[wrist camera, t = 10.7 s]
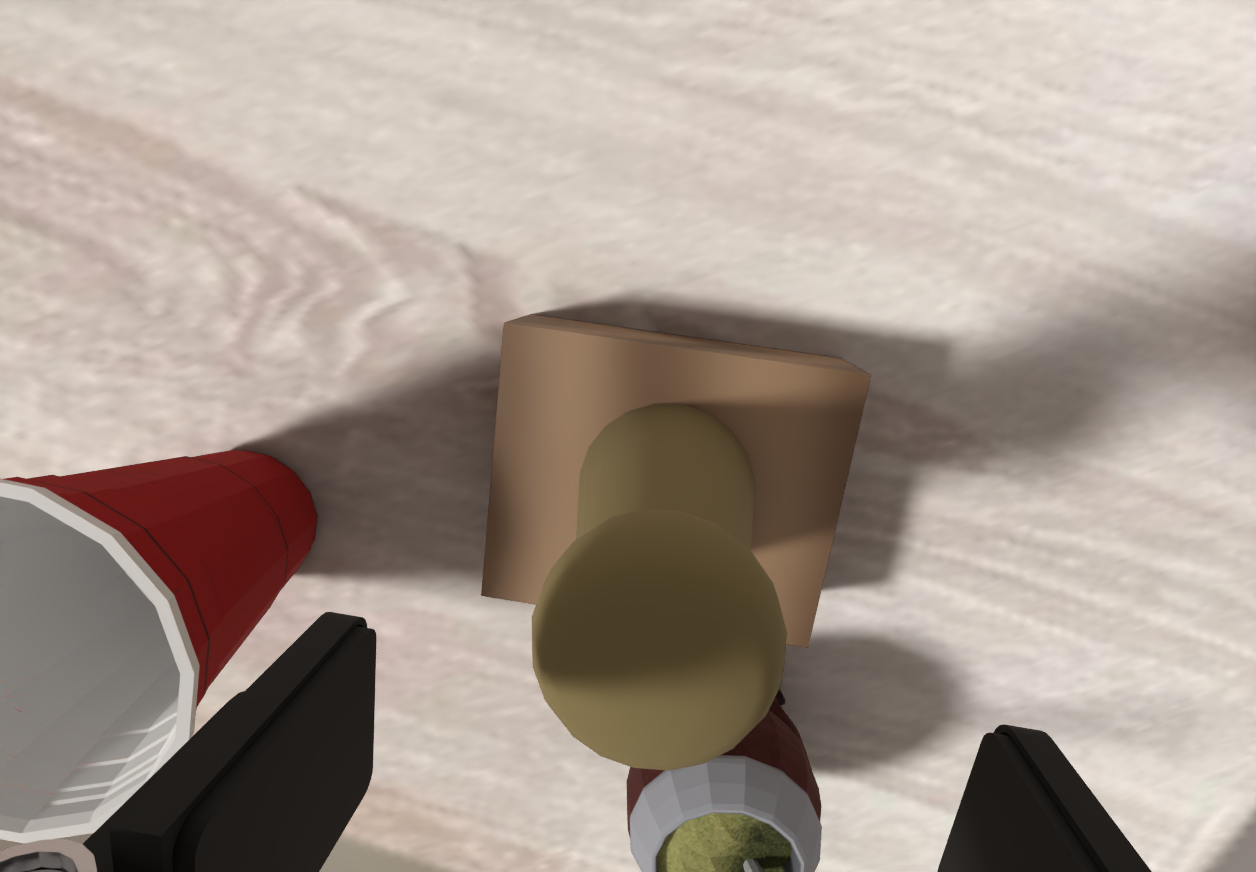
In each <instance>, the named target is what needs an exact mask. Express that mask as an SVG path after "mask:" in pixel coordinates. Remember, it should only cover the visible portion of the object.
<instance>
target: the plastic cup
mask: <svg viewBox="0 0 1256 872" xmlns="http://www.w3.org/2000/svg"><path fill="white" fill-rule="evenodd" d="M316 523H317V514H316V511H315V508H314V505H313V501H312V498H311V495H310V492H309V491H308V489H307V488H306V487H305V485H304V484H303V483H302V482H301V480H300V479H299V478H298V476H297V475H296V474H295V472H294V471H293V470H291V469H290V468H288V467H286V466H285V465H283V464H282V463H280V462H279V461H277V460H276V459H274V458H273V457H271V456H268V455H263V454H259V453H255V452H251V451H246V450H245V451H237V450H231V451H225V452H219V453H212V454H207V455H201V456H196V457H187V456H184V457H178V458H172V459H166V460H160V461H154V462H147V463H141V464H135V465H129V466H123V467H116V468H110V469H104V470H98V471H92V472H86V473H79V474H73V475H67V476H61V477H60V476H55V475H48V476H42V477H35V478H28V479H25V478H20V477H13V478H6V479H0V839H4V840H9V841H15V842H20V843H30V842H35V841H39V840H49V839H55V838H62V837H69V836H75V835H81V834H88V833H94V832H95V831H96V830H97V829H98V828H99V827H100V826H101V825H102V824H104V823H105V822H106V821H107V820H108V819H109V818H110V817H111V816H112V815H113V814H114V813H115V812H116V811H117V810H118V809H119V808H120V807H121V806H122V805H123V804H124V803H125V802H126V801H127V800H128V799H129V798H130V797H131V796H132V795H133V794H134V793H135V792H136V791H137V790H138V789H139V788H140V787H141V786H142V785H143V784H144V783H145V782H146V781H148V780H149V779H150V778H151V777H152V776H153V775H154V774H155V773H156V772H157V771H158V770H159V769H160V768H161V767H162V766H163V765H164V764H165V763H166V762H167V761H168V760H169V759H170V758H171V757H172V756H173V755H174V754H175V753H176V752H177V751H178V750H179V749H180V748H181V747H182V746H183V745H184V744H185V743H186V742H187V741H188V740H189V739H190V738H191V737H192V734H193V732H194V727H195V715H196V708H197V706H198V705H199V703H200V701H201V700H202V698H203V696H204V695H205V693H206V691H207V689H208V687H209V686H210V685H211V683H212V682H213V681H214V679H215V678H216V677H217V676H218V674H219V673H220V672H221V670H222V669H223V668H224V666H225V665H226V664H227V663H228V661H229V660H230V659H231V657H232V656H233V655H234V653H235V652H236V651H237V650H238V648H239V647H240V646H241V644H242V643H243V642H244V640H245V639H246V638H247V637H248V635H249V634H250V633H251V631H252V630H253V629H254V628H255V626H256V625H257V624H258V622H259V621H260V620H261V618H262V617H263V616H264V615H265V613H266V612H267V611H268V609H269V608H270V607H271V605H272V603H273V602H274V600H275V598H276V597H277V595H278V593H279V592H280V590H281V589H282V588H283V587H284V585H285V584H286V583H287V582H288V581H289V579H290V578H291V577H292V576H293V574H294V573H295V572H296V571H297V569H298V568H299V567H300V565H301V563H302V562H303V560H304V558H305V557H306V555H307V553H308V552H309V550H310V549H311V545H312V543H313V542H314V540H315V533H316Z"/></svg>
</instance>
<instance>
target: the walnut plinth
mask: <svg viewBox="0 0 1256 872" xmlns="http://www.w3.org/2000/svg"><path fill="white" fill-rule="evenodd" d="M870 377H871V375H870V374H868V373H866V372H865V371H863V370H861V369H859V368H858V367H856V366H854V365H852V364H850V363H849V362H847V361H845V360H843V359H842V358H836V357H829V356H822V355H815V354H808V353H800V352H793V351H786V350H779V349H772V348H765V347H758V346H751V345H744V344H737V343H730V342H723V341H716V340H709V339H702V338H694V337H687V336H680V335H673V334H666V333H659V332H652V331H645V330H638V329H631V328H624V327H617V326H610V325H603V324H596V323H588V322H581V321H574V320H567V319H560V318H553V317H546V316H539V315H532V314H530V315H527V316H524V317H520V318H517V319H514V320H511V321H508V322H505V323H504V327H503V339H502V351H501V363H500V375H499V388H498V400H497V412H496V424H495V436H494V448H493V460H492V472H491V484H490V496H489V508H488V521H487V533H486V545H485V557H484V569H483V581H482V593H481V596H486V597H492V598H498V599H505V600H511V601H517V602H523V603H530V604H537V601H538V598H539V595H540V593H541V590H542V587H543V584H544V582H545V580H546V577H547V575H548V573H549V571H550V569H551V568H552V567H553V566H554V564H555V563H556V562H557V561H558V559H559V558H560V557H561V556H562V555H563V553H564V552H565V551H566V550H567V548H568V547H569V546H570V545H571V544H572V542H574V541H575V540H576V529H577V513H578V496H579V480H580V470H581V468H582V465H583V462H584V459H585V456H586V453H587V451H588V448H589V446H590V445H591V444H592V442H593V441H594V440H595V439H596V437H597V436H598V435H599V433H600V432H601V431H602V430H603V428H604V427H605V426H606V425H608V424H609V423H611V422H612V421H614V420H615V419H617V418H618V417H620V416H621V415H623V414H624V413H626V412H627V411H630V410H633V409H637V408H641V407H644V406H648V405H652V404H655V403H657V404H682V405H687V406H689V407H692V408H695V409H698V410H700V411H703V412H706V413H709V414H711V415H712V416H714V417H715V418H716V419H718V420H719V421H720V422H721V423H723V424H724V425H725V426H726V427H728V428H729V429H730V430H732V431H733V432H734V434H735V435H736V437H737V438H738V440H739V441H740V443H741V444H742V446H743V447H744V449H745V450H746V452H747V453H748V456H749V459H750V463H751V467H752V471H753V475H754V478H755V490H754V508H753V526H752V543H751V552H752V553H753V554H754V556H755V557H756V559H757V560H758V562H759V563H760V565H761V566H762V567H763V569H764V570H765V572H766V573H767V575H768V576H769V578H770V579H771V581H772V582H773V584H774V587H775V590H776V593H777V596H778V600H779V604H780V607H781V611H782V615H783V619H784V622H785V626H786V630H787V640H786V644H788V645H794V646H801V647H807V648H808V645H809V641H810V637H811V632H812V628H813V624H814V619H815V615H816V611H817V606H818V602H819V598H820V593H821V589H822V585H823V581H824V576H825V572H826V568H827V563H828V559H829V555H830V550H831V546H832V542H833V537H834V533H835V529H836V524H837V520H838V516H839V511H840V507H841V503H842V498H843V494H844V490H845V485H846V481H847V477H848V472H849V468H850V464H851V459H852V455H853V451H854V446H855V442H856V438H857V434H858V429H859V425H860V421H861V416H862V412H863V408H864V403H865V399H866V395H867V390H868V386H869V382H870Z"/></svg>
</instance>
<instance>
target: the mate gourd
mask: <svg viewBox="0 0 1256 872" xmlns="http://www.w3.org/2000/svg"><path fill="white" fill-rule="evenodd" d="M783 704H785V699H784V697H783V695H782V692H781V691H780V689H779V690H778V692H777V694H776V696H775V698H774V700H773V702H772V704H771V706H770V708H769V710H768V713H767V715H766V716H765V717H764V718H763V719H762V720H761V721H760V722H759V723H758V724H757V725H756V726H755V727H754V728H753V729H752V730H751V731H750V732H749V733H748V734H747V735H746V736H745V737H744V738H743V739H742V740H741V741H740V742H739V743H738V744H737V745H736V746H735V747H734V748H733V749H731V750H729V751H727V752H725V753H724V754H722V755H720V756H718V757H716V758H714V759H712V760H710V761H708V762H706V763H704V764H700V765H695V766H690V767H685V768H680V769H674V770H669V771H668V770H655V769H643V768H633V767H630V770H629V775H628V779H627V815H628V831H629V836H630V841H631V852H632V854H633V856H634V858H635V860H636V862H637V864H638V866H639V868H640V869H641V871H642V872H815V870H816V867H817V865H818V863H819V860H820V847H821V830H822V826H821V823H820V816H821V801H820V794H819V788H818V786H817V783H816V780H815V778H814V775H813V772H812V769H811V766H810V763H809V760H808V756H807V753H806V750H805V748H804V745H803V743H802V740H801V737H800V735H799V732H798V730H797V728H796V727H795V725H794V724H793V722H792V721H791V719H790V718H789V717H788V715H787V714H786V713H785V712H784V710H783V709H782V708H781V705H783Z"/></svg>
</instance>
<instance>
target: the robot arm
mask: <svg viewBox="0 0 1256 872" xmlns="http://www.w3.org/2000/svg"><path fill="white" fill-rule="evenodd" d="M375 669H376V632H375V630H373V629H370V628H367V623H366V620H365V619H364V618H363V617H357V616H351V615H345V614H339V613H333V612H326V613H324V614H323V615H321V616H320V617H319V618H318V619H317V620H316V621H315V622H314V623H313V624H312V625H311V626H310V627H309V628H308V629H307V630H306V631H305V632H304V633H303V634H302V635H301V636H300V637H299V638H298V639H297V640H296V641H295V642H294V643H293V644H292V645H291V646H290V647H289V648H288V649H287V650H286V651H285V652H284V653H283V654H282V655H281V656H280V657H279V658H278V659H277V660H276V661H275V662H274V663H273V664H272V665H271V666H270V667H269V668H268V669H267V670H266V671H265V672H264V673H263V674H262V675H261V676H260V677H259V678H258V679H257V680H256V681H255V682H254V683H253V684H252V685H251V686H250V687H249V688H248V689H247V690H246V691H244V692H240V693H238V694H237V695H236V696H234V697H233V698H232V699H231V700H229V701H228V702H227V703H226V704H225V705H224V706H223V707H222V708H221V709H220V710H219V711H218V712H217V713H216V714H215V715H214V716H213V717H212V718H211V719H210V720H209V721H208V722H207V723H206V724H205V725H204V726H203V727H202V728H201V729H200V730H199V731H198V732H197V733H196V734H195V735H194V736H193V737H191V738H190V739H189V740H188V741H187V742H186V743H185V744H184V745H183V746H182V747H181V748H180V749H179V750H178V751H177V752H176V753H175V754H174V755H173V756H172V757H171V758H170V759H169V760H168V761H167V762H166V763H165V764H164V765H163V766H162V767H161V768H160V769H159V770H158V771H157V772H156V773H155V774H154V775H153V776H152V777H151V778H150V779H149V780H148V781H146V782H145V783H144V784H143V785H142V786H141V787H140V788H139V789H138V790H137V791H136V792H135V793H134V794H133V795H132V796H131V797H130V798H129V799H128V800H127V801H126V802H125V803H124V804H123V805H122V806H121V807H120V808H119V809H118V810H117V811H116V812H115V813H114V814H113V815H112V816H111V817H110V818H109V819H108V820H107V821H106V822H105V823H104V824H102V825H101V826H100V827H99V828H98V829H97V830H96V831H95V832H94V833H93V834H92V835H91V836H90V837H89V838H88V839H87V840H86V841H85V842H84V843H83V844H79V843H76V842H72V841H69V840H65V839H61V840H60V839H59V840H39V841H35V842H30V843H26V844H22V845H17V846H14V847H11V848H9V849H6V850H3V851H1V852H0V872H319V870H320V869H321V868H322V866H323V864H324V863H325V861H326V859H327V857H328V856H329V854H330V853H331V851H332V849H333V847H334V846H335V844H336V842H337V841H338V839H339V837H340V836H341V834H342V832H343V831H344V829H345V827H346V826H347V824H348V822H349V821H350V819H351V817H352V816H353V814H354V812H355V811H356V809H357V807H358V805H359V804H360V802H361V800H362V799H363V797H364V795H365V793H366V791H367V789H368V786H369V783H370V780H371V776H372V770H373V743H374V706H375ZM938 872H1151V870H1150V869H1149V868H1148V866H1147V865H1146V864H1145V862H1144V861H1143V860H1142V858H1141V857H1140V856H1139V854H1138V853H1137V852H1136V850H1135V849H1134V848H1133V846H1132V845H1131V844H1130V842H1129V841H1128V840H1127V838H1126V837H1125V836H1124V834H1123V833H1122V832H1121V830H1120V829H1119V828H1118V826H1117V825H1116V824H1115V822H1114V821H1113V820H1112V818H1111V817H1110V816H1109V814H1108V813H1107V812H1106V810H1105V809H1104V808H1103V806H1102V805H1101V804H1100V802H1099V801H1098V800H1097V798H1096V797H1095V796H1094V794H1093V793H1092V792H1091V790H1090V789H1089V788H1088V786H1087V785H1086V784H1085V782H1084V781H1083V780H1082V778H1081V777H1080V776H1079V774H1078V773H1077V772H1076V770H1075V769H1074V768H1073V766H1072V765H1071V764H1070V762H1069V761H1068V760H1067V758H1066V757H1065V756H1064V754H1063V753H1062V752H1061V750H1060V749H1059V748H1058V746H1057V745H1056V744H1055V742H1054V741H1053V740H1052V738H1051V737H1050V736H1049V735H1048V734H1047V733H1045V732H1043V731H1039V730H1033V729H1027V728H1021V727H1015V726H1009V725H1000V726H998V727H997V728H996V729H995V731H994V733H987V734H986V735H984V737H983V739H982V741H981V744H980V747H979V750H978V753H977V756H976V759H975V762H974V765H973V768H972V770H971V773H970V776H969V779H968V782H967V785H966V788H965V791H964V794H963V797H962V800H961V803H960V806H959V809H958V812H957V815H956V818H955V821H954V823H953V826H952V829H951V832H950V835H949V838H948V841H947V844H946V847H945V850H944V853H943V856H942V859H941V862H940V865H939V868H938Z"/></svg>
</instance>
